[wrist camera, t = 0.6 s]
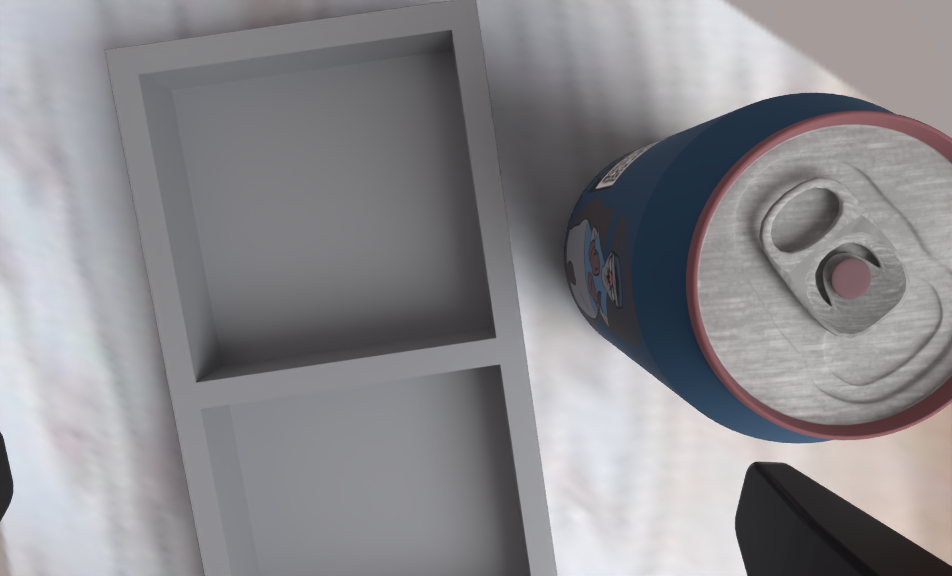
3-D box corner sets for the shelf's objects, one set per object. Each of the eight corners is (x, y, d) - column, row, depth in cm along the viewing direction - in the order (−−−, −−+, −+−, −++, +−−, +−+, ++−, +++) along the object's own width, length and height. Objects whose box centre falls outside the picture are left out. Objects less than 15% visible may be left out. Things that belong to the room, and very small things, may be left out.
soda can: (802, 265, 24) (1132, 306, 12) (642, 393, 25) (816, 553, 13) (678, 104, 24) (900, -15, 12) (516, 236, 24) (574, 250, 12)
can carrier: (556, 614, 25) (570, 667, 22) (258, 660, 25) (232, 719, 22) (473, 25, 23) (475, -3, 20) (149, 72, 23) (104, 50, 20)
